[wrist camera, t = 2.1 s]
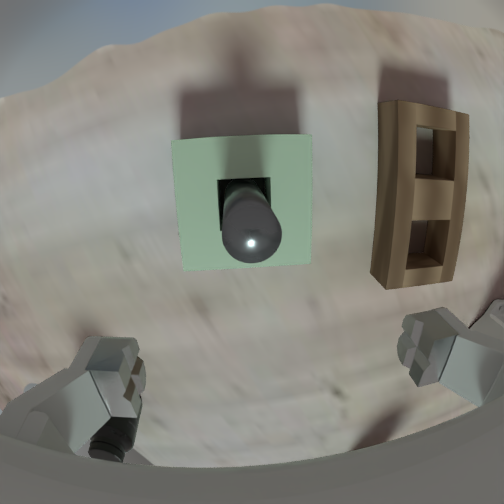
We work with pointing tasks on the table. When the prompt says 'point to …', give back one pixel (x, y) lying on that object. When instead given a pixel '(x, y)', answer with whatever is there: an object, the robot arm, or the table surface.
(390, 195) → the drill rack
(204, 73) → the table surface
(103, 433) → the supplement bottle
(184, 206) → the socket block
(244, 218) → the steel peg
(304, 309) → the table surface
